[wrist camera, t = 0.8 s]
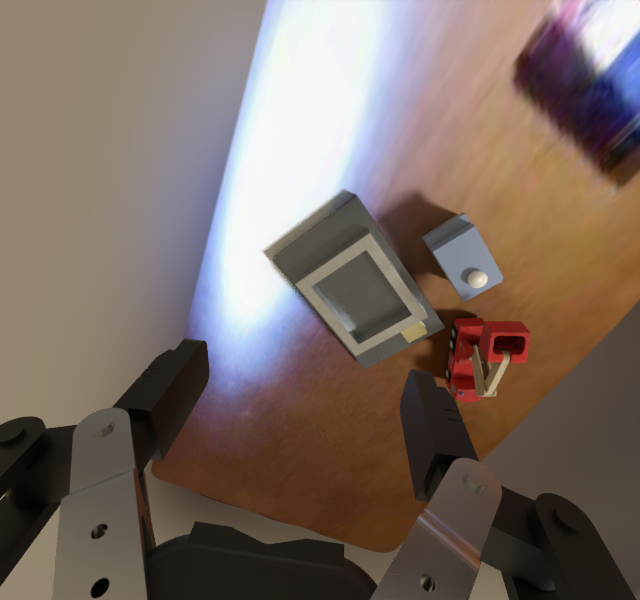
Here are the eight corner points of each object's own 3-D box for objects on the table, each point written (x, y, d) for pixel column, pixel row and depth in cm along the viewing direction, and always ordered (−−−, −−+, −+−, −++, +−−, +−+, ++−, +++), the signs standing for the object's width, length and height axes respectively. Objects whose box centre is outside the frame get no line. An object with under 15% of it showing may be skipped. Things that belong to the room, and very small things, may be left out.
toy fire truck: (442, 381, 41) (468, 445, 32) (457, 287, 35) (493, 335, 26) (469, 382, 40) (502, 446, 32) (488, 286, 34) (535, 334, 26)
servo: (452, 205, 31) (472, 218, 26) (486, 267, 33) (511, 289, 28) (416, 229, 32) (429, 245, 27) (452, 286, 35) (469, 310, 30)
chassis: (356, 194, 31) (357, 199, 29) (442, 322, 37) (449, 334, 34) (274, 256, 35) (269, 264, 32) (364, 363, 40) (365, 377, 38)
